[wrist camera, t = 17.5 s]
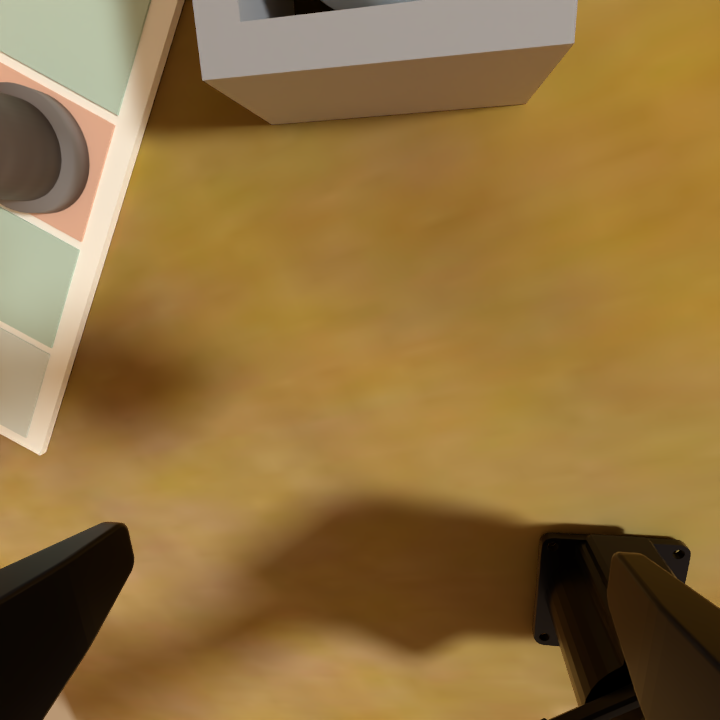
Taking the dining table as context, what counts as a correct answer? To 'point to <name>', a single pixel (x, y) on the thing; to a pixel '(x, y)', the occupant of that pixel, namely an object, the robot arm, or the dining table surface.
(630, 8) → the dining table surface
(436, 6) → the base
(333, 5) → the white ball
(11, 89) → the pawn
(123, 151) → the game board
